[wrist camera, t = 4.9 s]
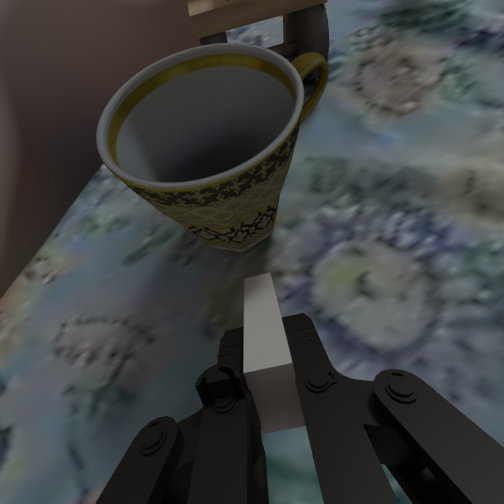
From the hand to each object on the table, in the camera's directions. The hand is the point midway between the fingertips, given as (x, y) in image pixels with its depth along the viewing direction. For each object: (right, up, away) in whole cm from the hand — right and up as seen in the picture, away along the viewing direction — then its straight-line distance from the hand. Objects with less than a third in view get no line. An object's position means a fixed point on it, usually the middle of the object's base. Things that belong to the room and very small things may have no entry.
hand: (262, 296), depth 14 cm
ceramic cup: (-1, +6, +7) cm, 9 cm away
